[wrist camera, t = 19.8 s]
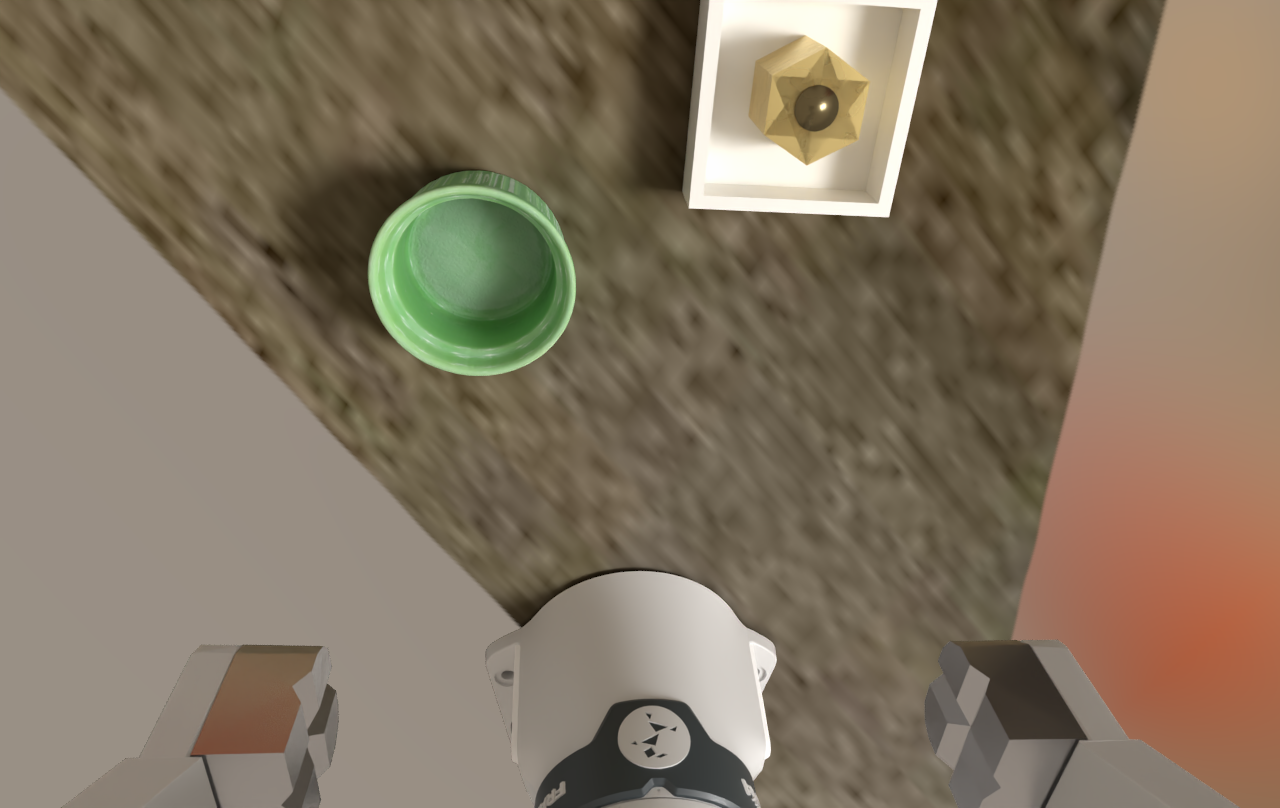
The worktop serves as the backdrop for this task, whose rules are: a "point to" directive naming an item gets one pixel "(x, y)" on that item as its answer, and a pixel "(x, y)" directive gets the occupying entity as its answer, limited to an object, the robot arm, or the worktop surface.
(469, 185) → the ramekin
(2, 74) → the worktop surface
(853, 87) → the tan faceted block
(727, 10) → the ceramic dish
